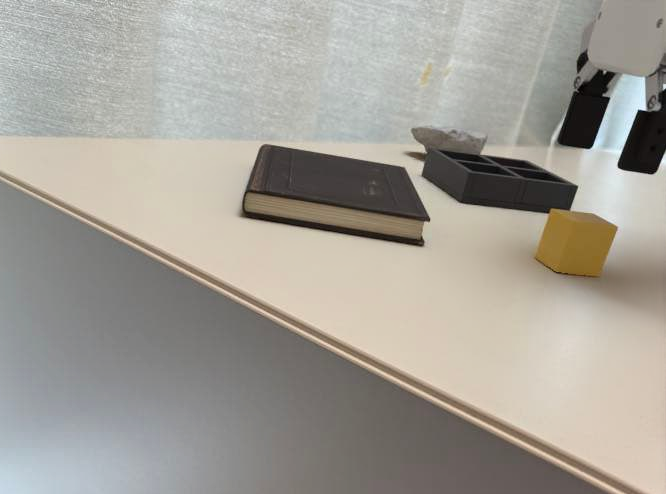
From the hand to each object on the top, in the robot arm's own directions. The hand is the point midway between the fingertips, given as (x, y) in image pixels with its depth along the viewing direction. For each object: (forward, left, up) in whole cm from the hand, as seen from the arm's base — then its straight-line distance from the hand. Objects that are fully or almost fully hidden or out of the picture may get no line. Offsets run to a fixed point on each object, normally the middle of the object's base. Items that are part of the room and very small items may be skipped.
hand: (602, 158), depth 63 cm
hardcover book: (+18, -15, -9) cm, 25 cm away
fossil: (-6, -47, -9) cm, 48 cm away
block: (0, 0, -9) cm, 9 cm away
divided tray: (-5, -28, -9) cm, 30 cm away
